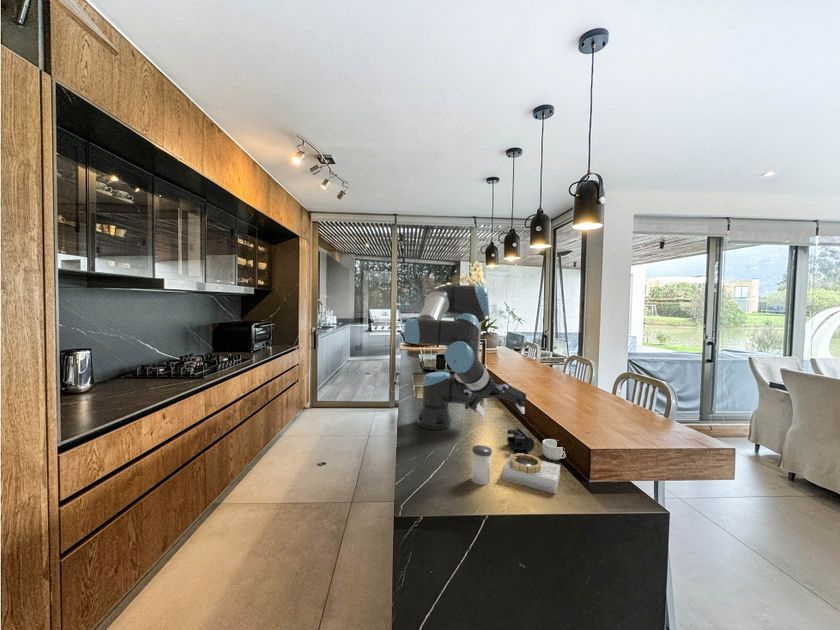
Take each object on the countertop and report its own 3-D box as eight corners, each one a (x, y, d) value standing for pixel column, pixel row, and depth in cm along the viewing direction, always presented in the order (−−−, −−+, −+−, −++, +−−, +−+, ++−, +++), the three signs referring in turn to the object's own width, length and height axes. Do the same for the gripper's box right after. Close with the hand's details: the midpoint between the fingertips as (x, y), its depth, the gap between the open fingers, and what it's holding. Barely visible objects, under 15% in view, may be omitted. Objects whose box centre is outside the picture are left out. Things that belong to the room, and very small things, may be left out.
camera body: (502, 479, 116) (503, 462, 115) (510, 464, 126) (511, 449, 126) (555, 493, 109) (556, 476, 108) (559, 476, 119) (560, 460, 119)
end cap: (533, 454, 136) (535, 436, 136) (515, 454, 135) (516, 436, 135) (523, 443, 146) (524, 427, 146) (506, 443, 145) (507, 427, 145)
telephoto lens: (468, 481, 113) (469, 450, 113) (474, 473, 119) (475, 443, 118) (487, 487, 111) (488, 455, 110) (492, 478, 116) (494, 448, 116)
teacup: (537, 454, 136) (538, 440, 136) (553, 452, 139) (554, 438, 139) (556, 466, 127) (557, 451, 127) (573, 463, 130) (574, 448, 130)
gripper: (439, 396, 111) (467, 426, 124) (519, 385, 99) (542, 419, 112) (441, 375, 115) (468, 406, 128) (518, 362, 104) (540, 397, 117)
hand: (503, 412), depth 120 cm, fingers open, 13 cm apart
